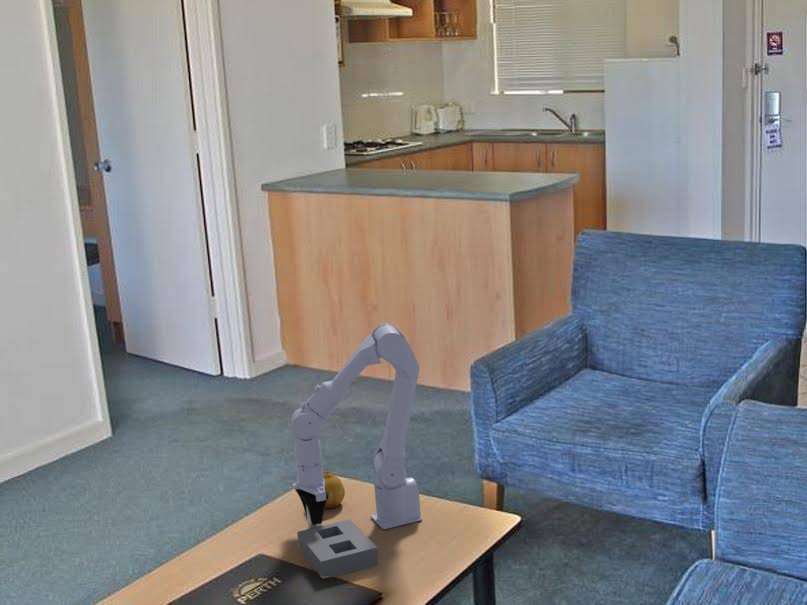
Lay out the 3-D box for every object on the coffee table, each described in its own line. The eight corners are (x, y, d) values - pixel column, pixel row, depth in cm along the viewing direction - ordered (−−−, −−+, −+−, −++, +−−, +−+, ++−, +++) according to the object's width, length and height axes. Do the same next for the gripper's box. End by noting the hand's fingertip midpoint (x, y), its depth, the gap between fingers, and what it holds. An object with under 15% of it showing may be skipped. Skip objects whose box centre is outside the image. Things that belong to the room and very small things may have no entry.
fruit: (336, 484, 251) (321, 462, 247) (356, 495, 245) (341, 474, 241) (312, 509, 248) (297, 488, 244) (333, 521, 242) (317, 500, 238)
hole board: (351, 536, 227) (350, 519, 227) (378, 565, 213) (376, 547, 212) (298, 549, 223) (297, 531, 222) (322, 580, 209) (320, 561, 208)
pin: (319, 526, 234) (317, 497, 232) (324, 531, 231) (321, 502, 229) (307, 529, 232) (304, 500, 231) (311, 534, 230) (308, 505, 228)
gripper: (281, 456, 233) (287, 512, 236) (301, 477, 220) (307, 536, 223) (312, 449, 236) (317, 506, 239) (332, 470, 223) (338, 529, 226)
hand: (314, 520), depth 231 cm, fingers closed on pin, 3 cm apart
